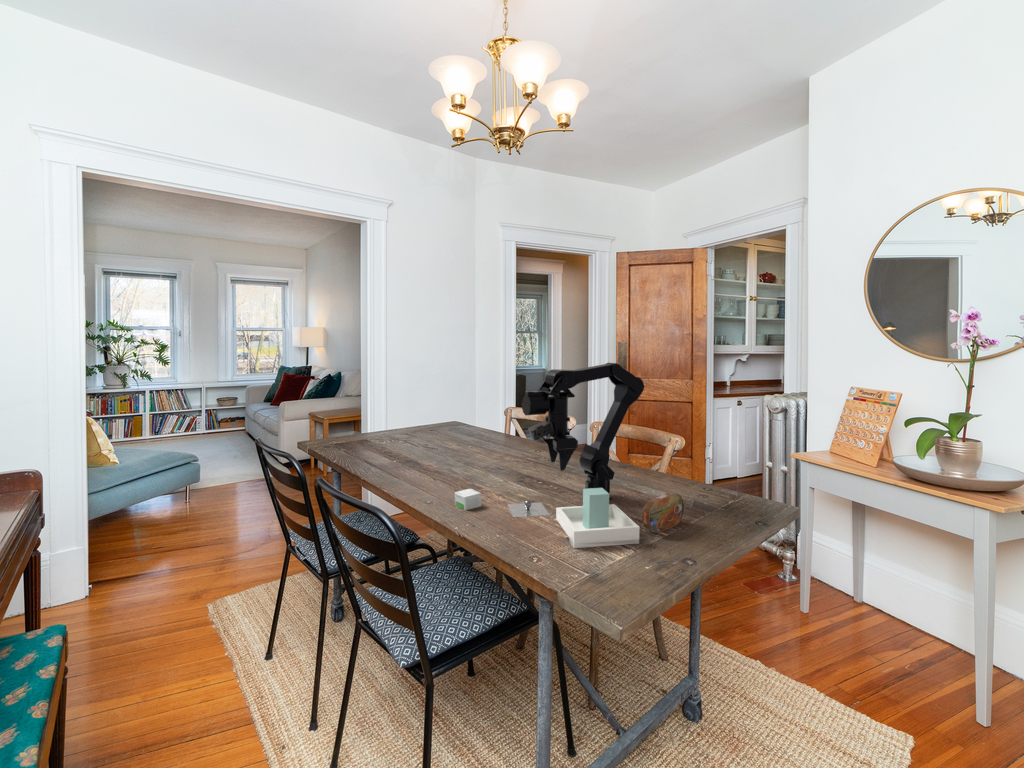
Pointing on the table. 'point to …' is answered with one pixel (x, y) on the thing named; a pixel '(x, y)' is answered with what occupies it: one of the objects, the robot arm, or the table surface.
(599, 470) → the robot arm
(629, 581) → the table surface
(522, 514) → the stud plate
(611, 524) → the bin
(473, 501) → the small box
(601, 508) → the block
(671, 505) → the tin
